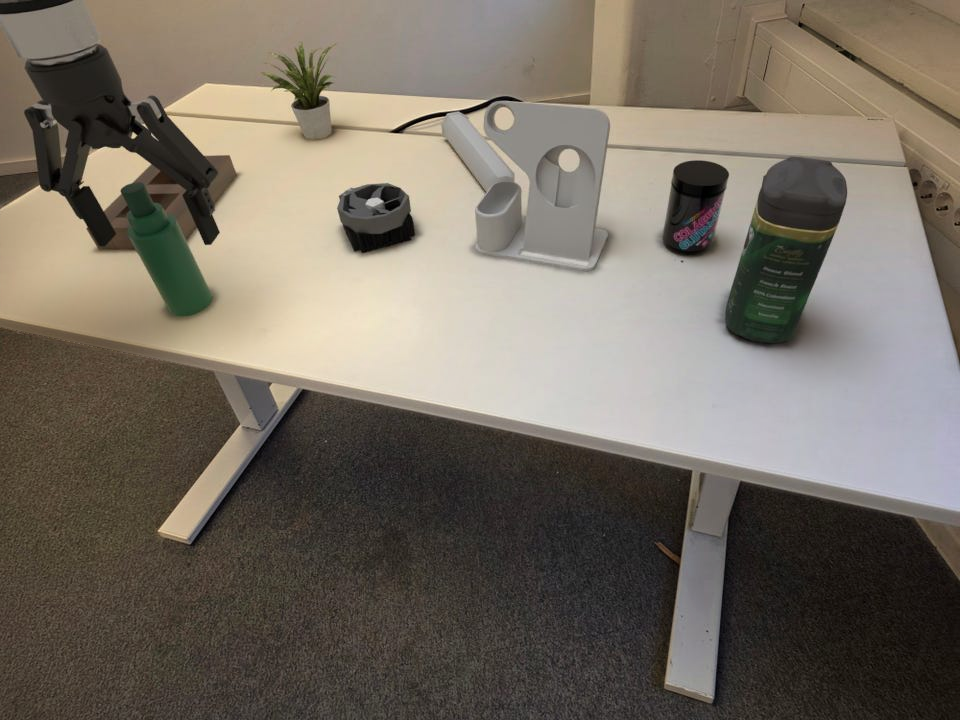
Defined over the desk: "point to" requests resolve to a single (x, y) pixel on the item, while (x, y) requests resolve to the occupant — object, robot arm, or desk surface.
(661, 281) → the desk surface
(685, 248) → the supplement container
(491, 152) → the tube
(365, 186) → the cpu cooler
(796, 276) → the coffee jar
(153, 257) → the bottle
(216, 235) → the robot arm
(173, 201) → the bottle holder
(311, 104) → the house plant
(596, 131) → the phone holder
